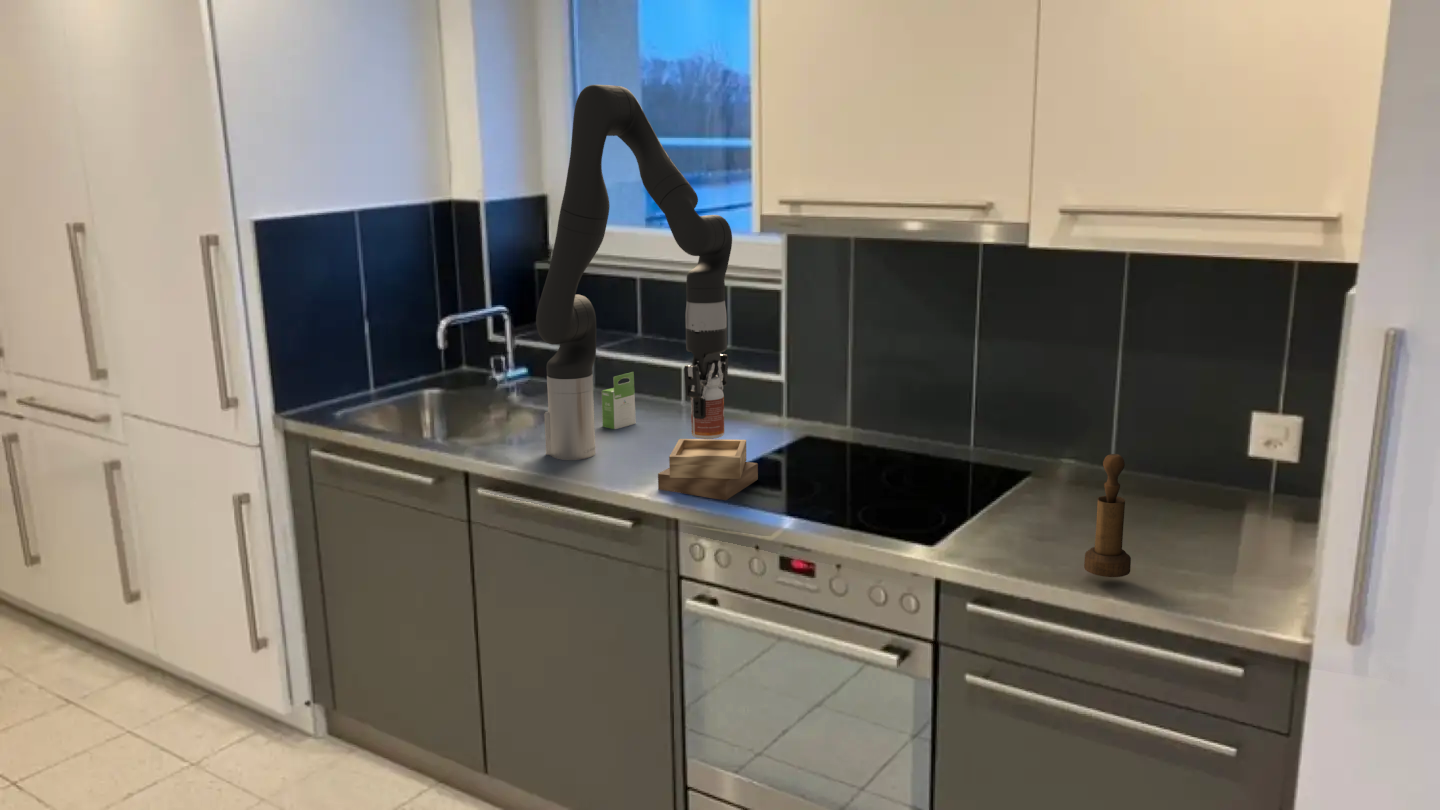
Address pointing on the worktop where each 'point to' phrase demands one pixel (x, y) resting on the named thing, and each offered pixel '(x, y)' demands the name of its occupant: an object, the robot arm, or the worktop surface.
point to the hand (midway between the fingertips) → (707, 414)
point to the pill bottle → (710, 413)
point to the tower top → (708, 458)
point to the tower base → (709, 483)
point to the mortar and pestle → (1109, 527)
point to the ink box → (619, 403)
